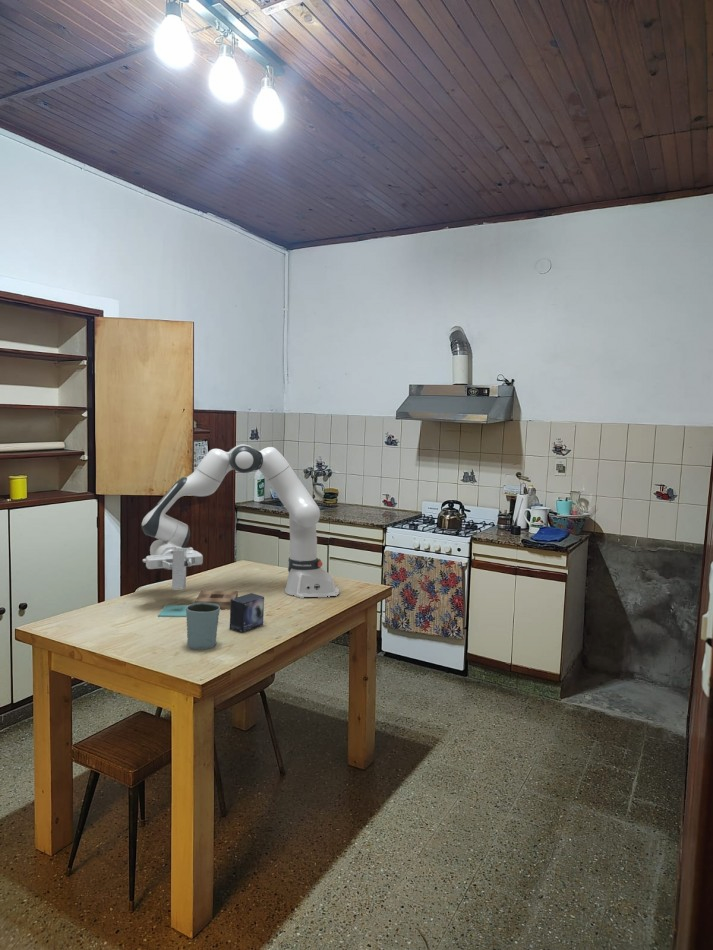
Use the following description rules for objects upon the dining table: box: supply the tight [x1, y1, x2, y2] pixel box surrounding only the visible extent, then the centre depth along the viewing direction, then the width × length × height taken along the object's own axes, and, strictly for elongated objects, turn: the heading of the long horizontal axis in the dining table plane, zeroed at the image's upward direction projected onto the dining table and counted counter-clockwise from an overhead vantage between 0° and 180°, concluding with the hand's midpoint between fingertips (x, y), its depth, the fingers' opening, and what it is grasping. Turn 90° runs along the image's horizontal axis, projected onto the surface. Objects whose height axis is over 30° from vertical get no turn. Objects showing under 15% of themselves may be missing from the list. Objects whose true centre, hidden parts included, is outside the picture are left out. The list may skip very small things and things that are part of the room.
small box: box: [228, 592, 265, 634], centre depth 207 cm, size 11×6×10 cm, turn 147°
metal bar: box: [171, 548, 187, 591], centre depth 220 cm, size 4×4×14 cm
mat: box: [157, 604, 189, 618], centre depth 221 cm, size 12×12×1 cm
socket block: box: [194, 590, 239, 611], centre depth 232 cm, size 14×14×3 cm
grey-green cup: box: [186, 602, 221, 651], centre depth 190 cm, size 10×10×12 cm
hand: (180, 565), depth 219 cm, fingers closed on metal bar, 5 cm apart
